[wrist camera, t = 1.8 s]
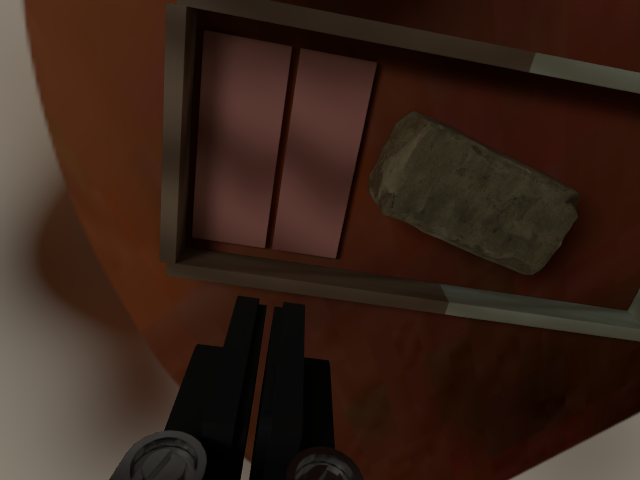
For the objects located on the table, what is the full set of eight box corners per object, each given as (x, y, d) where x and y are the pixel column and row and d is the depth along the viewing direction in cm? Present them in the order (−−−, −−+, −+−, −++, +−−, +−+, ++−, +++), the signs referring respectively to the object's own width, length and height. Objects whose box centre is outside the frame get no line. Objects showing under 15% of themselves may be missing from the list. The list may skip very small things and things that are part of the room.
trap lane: (180, -15, 24) (157, -24, 21) (760, 99, 27) (828, 108, 24) (170, 257, 31) (151, 286, 28) (633, 323, 34) (671, 357, 31)
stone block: (507, 248, 32) (540, 285, 27) (358, 186, 30) (366, 214, 25) (557, 174, 30) (603, 200, 25) (399, 101, 27) (417, 115, 23)
